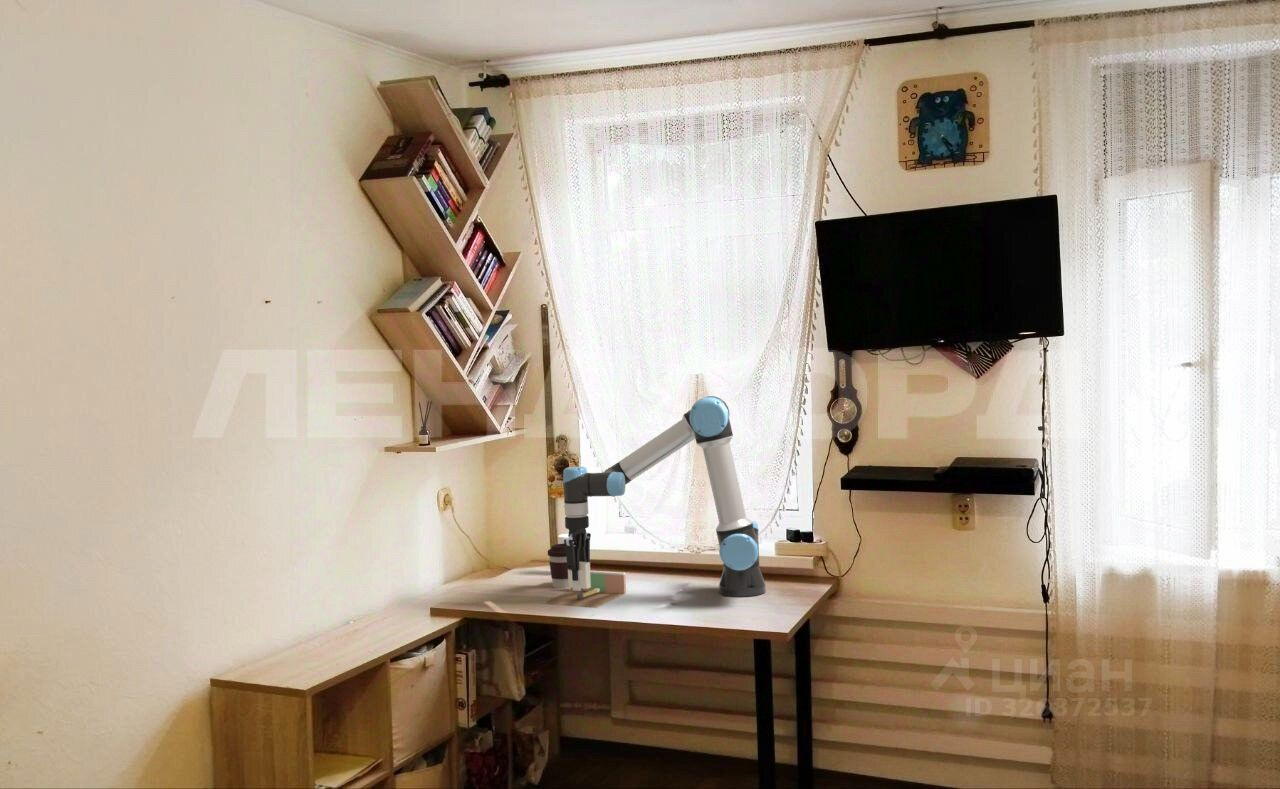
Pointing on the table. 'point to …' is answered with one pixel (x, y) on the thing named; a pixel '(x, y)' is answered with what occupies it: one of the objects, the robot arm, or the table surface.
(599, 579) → the scale wall
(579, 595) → the white block with rod
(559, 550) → the coffee cup
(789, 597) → the table surface
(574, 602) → the board
